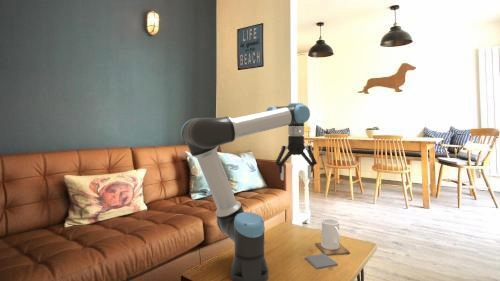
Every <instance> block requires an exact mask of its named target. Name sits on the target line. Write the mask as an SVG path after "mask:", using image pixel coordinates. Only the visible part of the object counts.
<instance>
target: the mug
mask: <svg viewBox="0 0 500 281" xmlns="http://www.w3.org/2000/svg"><path fill="white" fill-rule="evenodd" d="M340 233H341V232H340V221H339V220H337V219H334V218H325V219H322V220H321V242H320V243H321V246H322V247H323V248H326V249H330V250H335V249H338V248H339V247H340V246H339V243H341V242H340V241H341V234H340Z"/></svg>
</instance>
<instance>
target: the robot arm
mask: <svg viewBox="0 0 500 281" xmlns="http://www.w3.org/2000/svg"><path fill="white" fill-rule="evenodd" d="M310 116H311V111H310V108H309V106H307V105H306V104H304V103H303V102H290V103H289V104H288V105H284V106H275V105H274V106H268V108H267V109H266V111H261V112H256V113H251V114H245V115H240V116H237V117H232V118H231V117H230V116H224V117H195V118H191V119H189V120H187V121H186V122H185V123H184V124H183V125H182V127H181V130H180V137H181V140H182V142H183V143H184V144H185V145H186V146H187V148H188V150H189V153H190V155H191V157H193V158H196V160H197V162H198V165H199V167H200V169H201V171H202V175H203V177H204V179H205V182H206V184H207V187H208V189H209V192H210V194H211V196H212V199H213V201H214V204H215V206H216V210H215V215H216V216H215V217H216V225H217V227H218V229H219V230H220V232H221V233H223V234H224V235H225V236H226V237H228V238H229V239H230V240H232V241H233V242H234V258H233V260H232V263H231V267H230V269H229V270H230V271H229V274H230V275H229V276H230V279H231V280H232V281H267V280H268V279H269V276H270V274H269V273H270V270H269V267H268V263H267V260H266V257H265V230H266V229H265V228H266V227H265V221H264V219H263V217H262V216H261V215H260V214H258V213H255V212H251V211H250V212H249V211H245V210H244V207H243V205H242V202H241V201H239V200H237V199H236V197H235V195H234V192H233V189H232V187H231V184H230V182H229V178H228V176H227V174H226V172H225V171H226V170H225V168H224V166H223V163H222V161H221V158H220V155H219V153H218V148H219V147H220V146H223V145H227V144H229V143H232V142H235V140H236V139H237V138H238V139H239V138H241V137H246V136H250V135H254V134H257V133H262V132H265V131H269V130H274V129H278V128H281V127H285V126H288V127H287V128H288V129H287V130H288V133H287V134H288V137H287V138H288V139H287V140H288V141H287V145H281V148H280V151H279V154H278V156H277V158H276V160H275V162H274V165H275V166H278V173H279V174H280V180H281V181H284V180H285V179H284V178H285V177H284V174H285V172H284V169H285V167H284V164H285V163H286V162H287V161H288V159H289V158H290V157H291V156H302V158H303V159H304V160H305V161H306V163H308V165H307V180H312V173H313V172H314V166H315V165H317V164H318V163H317V160H316V157H315V156H314V154H313V152H312V149H311V145H305V136H304V135H305V123H306V122H308V121H309V119H310ZM286 150H288V151H287V153H286V154H285V151H286ZM305 150H306V151H307V153H308V156H309V157H308V156H307V155H306V152H304V151H305ZM284 154H285V156H284ZM283 156H284V157H283Z"/></svg>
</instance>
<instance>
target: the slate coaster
mask: <svg viewBox="0 0 500 281" xmlns="http://www.w3.org/2000/svg"><path fill="white" fill-rule="evenodd" d="M304 259H305V260H306V261H307V262H308V263H309V264H310V265H312V266H313V267H314V268H315V269H316V270H319V269H325V268H330V267H336V266H338V265H339V264H338V262H337V261H335V260H333V259H332V257H330V256H329V255H328V256H327V255H326V254H323V253H320V254H319V253H318V254H313V255H308V256H306V255H305V256H304Z"/></svg>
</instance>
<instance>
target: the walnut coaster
mask: <svg viewBox="0 0 500 281" xmlns="http://www.w3.org/2000/svg"><path fill="white" fill-rule="evenodd" d="M314 245H315V246H316V247H317V249H318V250H319V251H320V252H321V254H326V255H327V256H328V257H329V256H338V255H340V256H341V255H349V254H350V253H351V252H350V251H349V249H347V248H346V247H345V246H344V245H343V244H341V242H339V246H340V247H339V248H338V249H335V250H330V249H326V248H323V247H322V246H321V242H315V243H314Z"/></svg>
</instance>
